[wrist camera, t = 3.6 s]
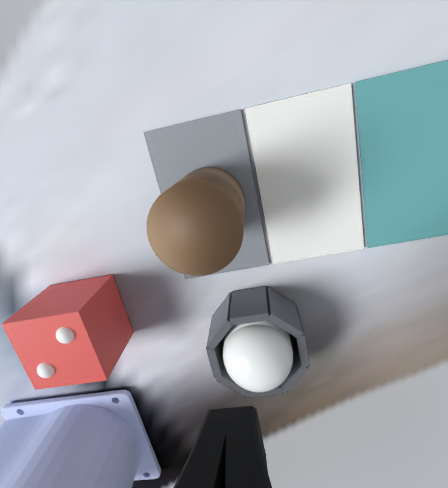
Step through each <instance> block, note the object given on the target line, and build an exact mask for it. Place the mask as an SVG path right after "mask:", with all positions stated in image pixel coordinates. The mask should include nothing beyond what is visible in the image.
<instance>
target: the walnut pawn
mask: <svg viewBox="0 0 448 488" xmlns="http://www.w3.org/2000/svg"><path fill="white" fill-rule="evenodd" d="M244 214H245V196H244V192H243V189H242V187H241V185H240V183H239V182H238V181H237V179H236V178H235V177H234V176H233V175H231V174H230V173H229V172H227V171H225V170H223V169H220V168H216V167H202V168H199V169H196V170H194V171H192V172H190V173H189V174H187V175H186V176H185V177H183V178H182V179H181V180H179V181H178V182H177V183H175V184H174V185H173V186H171V187H170V188H169V189H167V190H166V191H165V192H163V193H162V194H161V195H160V196H159V197H158V198H157V199H156V200H155V202H154V203H153V205H152V207H151V209H150V211H149V215H148V219H147V235H148V239H149V242H150V245H151V247H152V249H153V251H154V252H155V254H156V255H157V257H158V258H159V259H160V260H161V261H162V262H163V263H164V264H166V265H167V266H168V267H170V268H171V269H173V270H175V271H177V272H180V273H183V274H186V275H192V276H203V275H209V274H213V273H215V272H218V271H220V270H222V269H223V268H225V267H226V266H227V265H229V264H230V263H231V262H232V261H233V259H234V258H235V257H236V255H237V254H238V252H239V250H240V248H241V245H242V241H243V234H244Z"/></svg>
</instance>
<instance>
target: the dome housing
mask: <svg viewBox="0 0 448 488" xmlns="http://www.w3.org/2000/svg"><path fill="white" fill-rule="evenodd" d="M267 320H268V321H270V322H271V323H273V324H275V325H276V326H278V327H279V328H281V329H283V330H284V331H286V332H288V333H289V335H290V340H291V345H292V350H293V363H292V368H291V370H290V373H289V375H288V376H287V378H286V379H285V380H284V382H283V383H282V384H280V385H279V386H278V387H276V388H274V389H272V390H270V391H266V392H252V391H249V390H246V389H244V388H242V387H240V386H239V385H238V384H236V383H235V382H234V381H233V380H232V379H231V377H230V376H229V374H228V372H227V370H226V368H225V365H224V360H223V347H224V338H225V335H226V333H227V332H228V331H229V330H230V328H231V327H232V326H233V325H240V324H247V323H254V322H260V321H267ZM206 350H207V354H208V358H209V361H210V365H211V368H212V372H213V375H214V378H216V381H218V382H220V383H222V384H223V385H225V386H227V387H229V388H231V389H232V390H234V391H236V392H238V393H239V394H241V395H243V396H245V397H246V396H247V395H248V397H249V398H250V397H258V396H267V395H276V394H284V391H285V392H287V391H288V390H289V389H290V388H291V387H292V386H293V385H294V384H295V383H296V382H297V381H298V380H299V379H300V378H301V377H302V376H303V375H304V374H305V373H306V371H307V370H308V369H309V368H308V367H310V365H309V359H308V353H307V346H306V340H305V334H304V331H303V327H302V323H301V320H300V316H299V313H298V309H297V306H296V305H295V303H293V302H292V301H290V300H288V299H287V298H285V297H284V296H282V295H280V294H279V293H277V292H276V291H274V290H272V289H271V288H269V287H267V288H265V286H263V287H257V288H250V289H244V290H238V291H232V294H231V293H229V295H228V296H227V297H226V299H225V300H224V301H223V303H222V304H221V305H220V307H219V308H218V309H217V311H216V312H215V313H214V315H213V316H212V320H211V326H210V331H209V336H208V342H207V347H206Z"/></svg>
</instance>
